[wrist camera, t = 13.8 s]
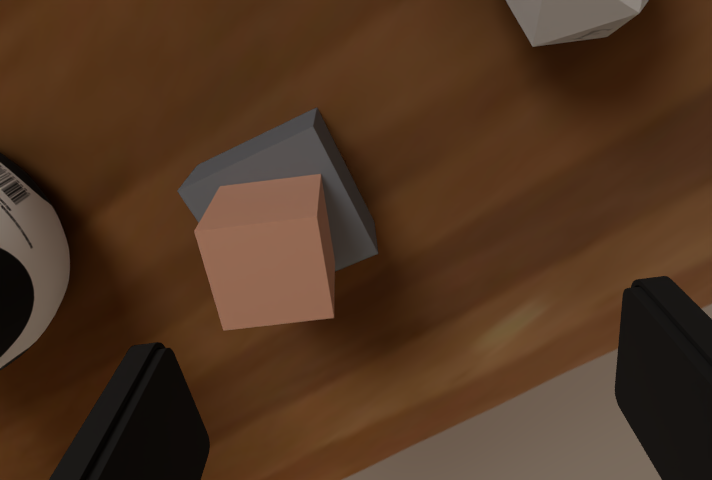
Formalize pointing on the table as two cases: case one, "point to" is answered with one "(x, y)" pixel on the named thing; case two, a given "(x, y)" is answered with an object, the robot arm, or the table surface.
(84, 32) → the table surface
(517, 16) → the die
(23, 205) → the milk container
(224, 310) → the terracotta cube
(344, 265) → the charcoal block
